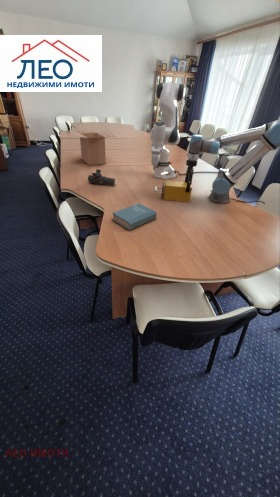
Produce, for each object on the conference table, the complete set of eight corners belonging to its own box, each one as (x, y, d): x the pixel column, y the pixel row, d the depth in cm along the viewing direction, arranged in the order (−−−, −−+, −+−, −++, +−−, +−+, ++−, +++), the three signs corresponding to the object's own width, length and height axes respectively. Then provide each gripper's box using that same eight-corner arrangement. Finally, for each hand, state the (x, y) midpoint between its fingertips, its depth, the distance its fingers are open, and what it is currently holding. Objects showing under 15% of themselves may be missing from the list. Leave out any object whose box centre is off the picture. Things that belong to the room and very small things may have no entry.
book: (138, 209, 150) (139, 203, 147) (156, 219, 142) (156, 212, 139) (112, 220, 137) (112, 212, 134) (129, 230, 128) (130, 223, 125)
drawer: (153, 197, 168) (155, 185, 162) (154, 192, 175) (155, 181, 170) (185, 199, 167) (187, 188, 162) (184, 195, 175) (186, 183, 169)
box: (116, 165, 229) (116, 136, 213) (83, 168, 214) (80, 137, 198) (102, 154, 259) (101, 128, 243) (71, 156, 244) (68, 129, 228)
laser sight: (112, 187, 180) (112, 175, 174) (86, 184, 183) (85, 171, 177) (115, 183, 187) (115, 171, 181) (90, 180, 190) (89, 168, 184)
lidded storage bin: (163, 199, 167) (165, 185, 161) (163, 194, 176) (165, 180, 170) (189, 201, 167) (192, 187, 160) (187, 196, 175) (190, 182, 169)
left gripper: (154, 145, 165) (153, 164, 173) (150, 150, 148) (148, 171, 156) (163, 146, 164) (161, 165, 172) (160, 151, 148) (157, 172, 156)
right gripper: (185, 154, 164) (180, 182, 177) (188, 164, 144) (182, 194, 157) (195, 155, 164) (189, 183, 177) (200, 165, 144) (193, 195, 157)
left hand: (155, 168), depth 164 cm, fingers open, 8 cm apart
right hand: (186, 188), depth 167 cm, fingers open, 13 cm apart
